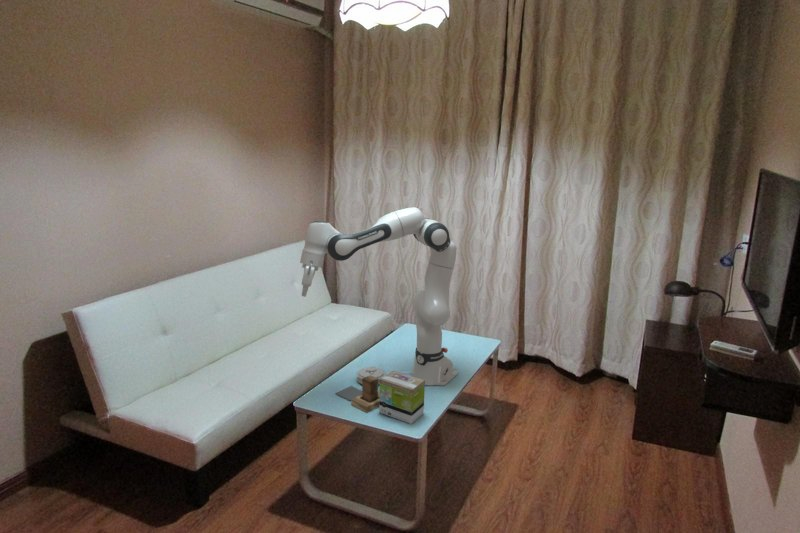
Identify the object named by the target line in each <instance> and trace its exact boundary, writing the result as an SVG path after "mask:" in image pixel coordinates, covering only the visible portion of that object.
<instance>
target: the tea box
mask: <svg viewBox="0 0 800 533" xmlns="http://www.w3.org/2000/svg"><path fill="white" fill-rule="evenodd" d="M425 388H426V385H425V380H422V379H419V378H416V377H413V375H408V374H405V373H402V372H399V371H395V370H392V371H391V372H389V373H387V374H386V375H385V377H383V378H382V379H380V384H379V392H380V396H379V407H378V408H379V410H378V412H379V414H381V415H385V416H388V417H391V418H394V419H397V420H399V421H402V422H405V423H408V424H410V425H411V424H413V423H414V422H415V421H417V419H418V418H420V417H421V416H422V415H423V414H424V413H425V412H424V410H425V392H426V390H425Z"/></svg>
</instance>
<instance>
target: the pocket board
mask: <svg viewBox="0 0 800 533" xmlns="http://www.w3.org/2000/svg"><path fill="white" fill-rule="evenodd" d="M379 396H380V391H378V399H377V400H375V401H373V402H371V403H369V402H367V401H365V400H363V399H362V395H360V396H357V397H355V398H353V399H351V401H350V402H351V406H353V407H355V408H357V409H359V410H360V411H363V412H364V413H367V414H368V413H369V412H372V411H373V410H376V409H378V408H379Z"/></svg>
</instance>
